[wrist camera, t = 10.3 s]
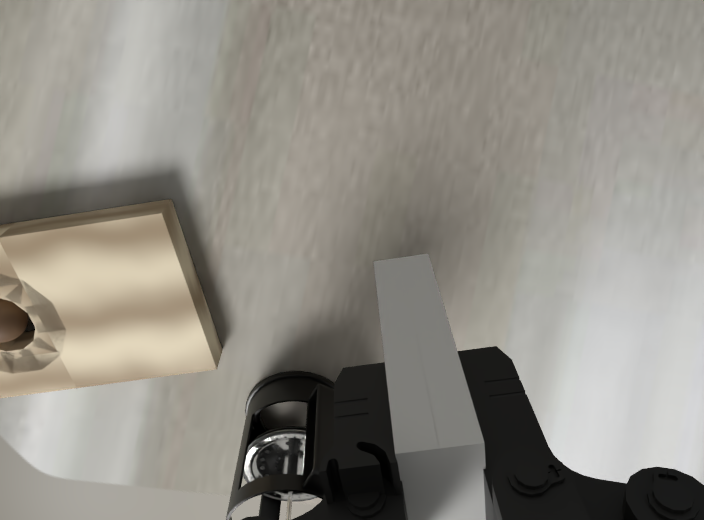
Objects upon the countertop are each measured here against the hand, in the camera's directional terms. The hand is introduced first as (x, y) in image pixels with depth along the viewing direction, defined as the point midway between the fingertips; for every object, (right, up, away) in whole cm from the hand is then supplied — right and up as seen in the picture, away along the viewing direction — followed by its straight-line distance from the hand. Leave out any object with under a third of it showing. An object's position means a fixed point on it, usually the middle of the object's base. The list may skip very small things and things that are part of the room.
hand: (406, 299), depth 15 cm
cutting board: (-23, -2, +29) cm, 37 cm away
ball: (-29, -4, +27) cm, 40 cm away
